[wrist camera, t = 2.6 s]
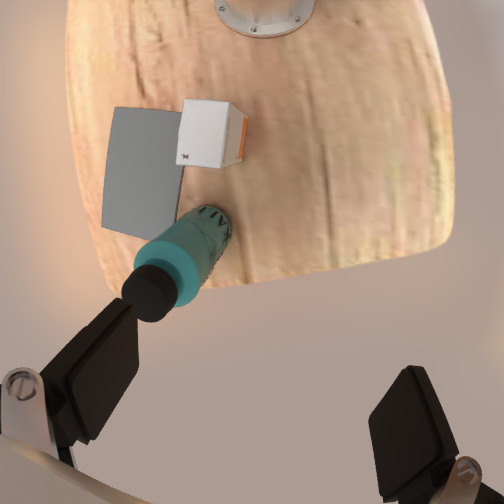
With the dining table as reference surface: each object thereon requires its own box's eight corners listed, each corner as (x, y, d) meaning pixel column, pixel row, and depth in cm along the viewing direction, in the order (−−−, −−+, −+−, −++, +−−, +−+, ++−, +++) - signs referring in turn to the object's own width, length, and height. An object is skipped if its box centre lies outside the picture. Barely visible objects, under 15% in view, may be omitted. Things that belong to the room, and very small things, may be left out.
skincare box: (242, 162, 34) (220, 171, 23) (209, 158, 35) (173, 166, 23) (250, 115, 32) (230, 100, 21) (215, 111, 32) (181, 98, 21)
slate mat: (117, 107, 33) (114, 107, 32) (194, 114, 33) (193, 114, 32) (103, 225, 40) (101, 227, 39) (172, 245, 39) (170, 246, 39)
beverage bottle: (189, 247, 39) (115, 333, 21) (186, 200, 37) (96, 257, 18) (235, 250, 39) (188, 346, 20) (235, 201, 36) (178, 264, 18)
